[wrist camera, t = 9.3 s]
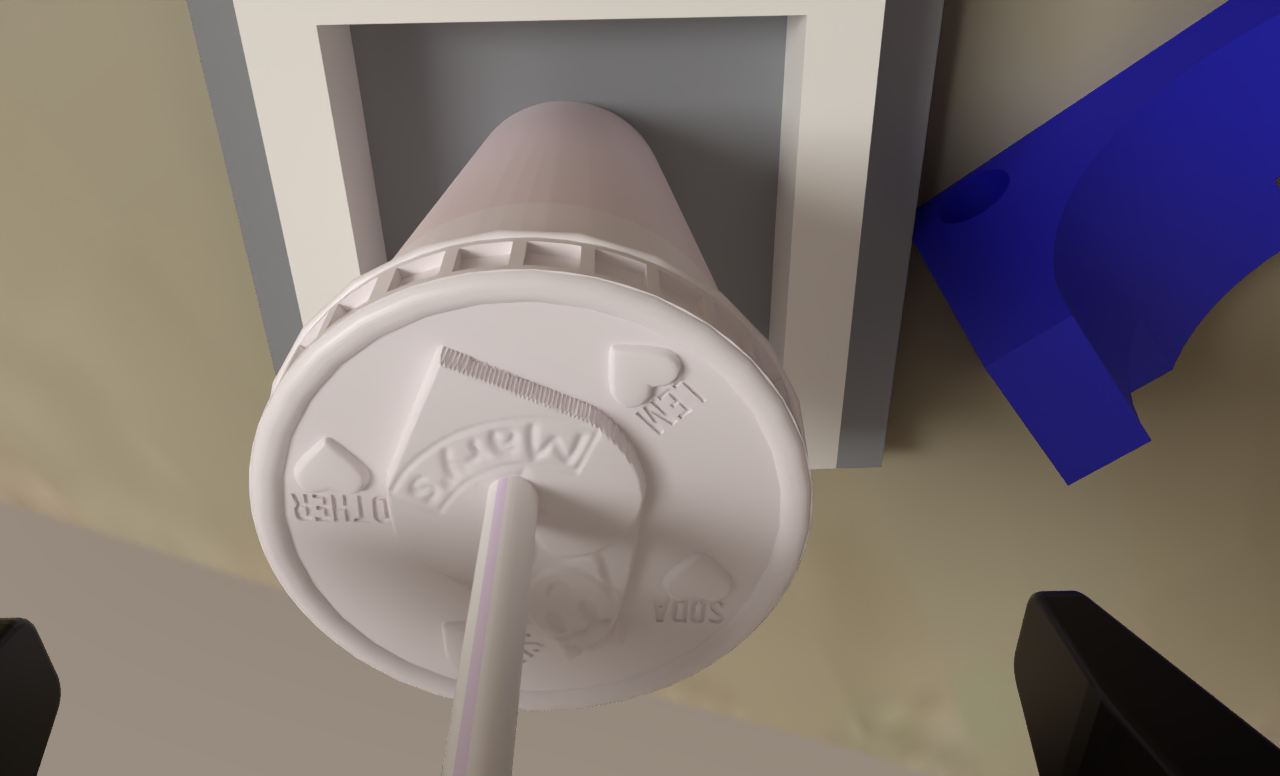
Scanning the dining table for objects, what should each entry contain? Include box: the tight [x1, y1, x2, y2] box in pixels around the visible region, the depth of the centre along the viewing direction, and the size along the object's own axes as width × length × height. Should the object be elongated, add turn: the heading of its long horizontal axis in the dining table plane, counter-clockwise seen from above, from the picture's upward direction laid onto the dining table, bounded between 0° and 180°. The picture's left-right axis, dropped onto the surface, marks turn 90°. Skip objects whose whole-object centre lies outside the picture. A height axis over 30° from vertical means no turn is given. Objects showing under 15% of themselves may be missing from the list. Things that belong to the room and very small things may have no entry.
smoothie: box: [249, 101, 813, 776], centre depth 14 cm, size 6×6×14 cm
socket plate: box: [186, 0, 944, 469], centre depth 19 cm, size 13×13×3 cm
